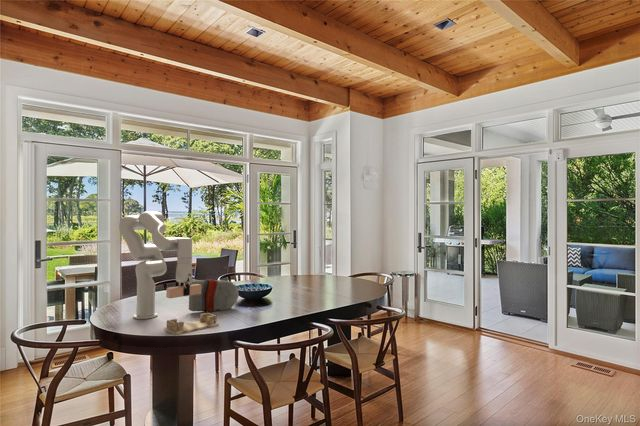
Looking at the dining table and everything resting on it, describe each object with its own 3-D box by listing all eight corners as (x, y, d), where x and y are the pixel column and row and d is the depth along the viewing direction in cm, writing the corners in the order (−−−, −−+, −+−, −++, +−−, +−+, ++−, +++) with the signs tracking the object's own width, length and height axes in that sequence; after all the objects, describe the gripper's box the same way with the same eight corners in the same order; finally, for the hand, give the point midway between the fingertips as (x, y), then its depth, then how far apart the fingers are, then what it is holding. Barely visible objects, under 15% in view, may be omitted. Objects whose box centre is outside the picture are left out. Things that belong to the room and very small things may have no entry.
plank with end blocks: (175, 334, 191) (176, 324, 191) (164, 329, 200) (164, 319, 200) (218, 325, 209) (218, 316, 209) (206, 321, 217) (206, 312, 217)
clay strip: (170, 298, 203) (170, 288, 203) (166, 297, 205) (166, 287, 205) (201, 293, 216) (201, 284, 216) (197, 292, 219) (197, 283, 219)
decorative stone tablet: (194, 280, 230) (241, 280, 248) (190, 278, 235) (236, 279, 253) (190, 313, 229) (237, 311, 246) (186, 311, 234) (233, 309, 252)
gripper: (170, 260, 214) (170, 293, 213) (186, 262, 203) (185, 298, 202) (183, 259, 219) (182, 292, 219) (199, 261, 208) (198, 296, 208)
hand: (184, 294), depth 211 cm, fingers closed on clay strip, 4 cm apart
